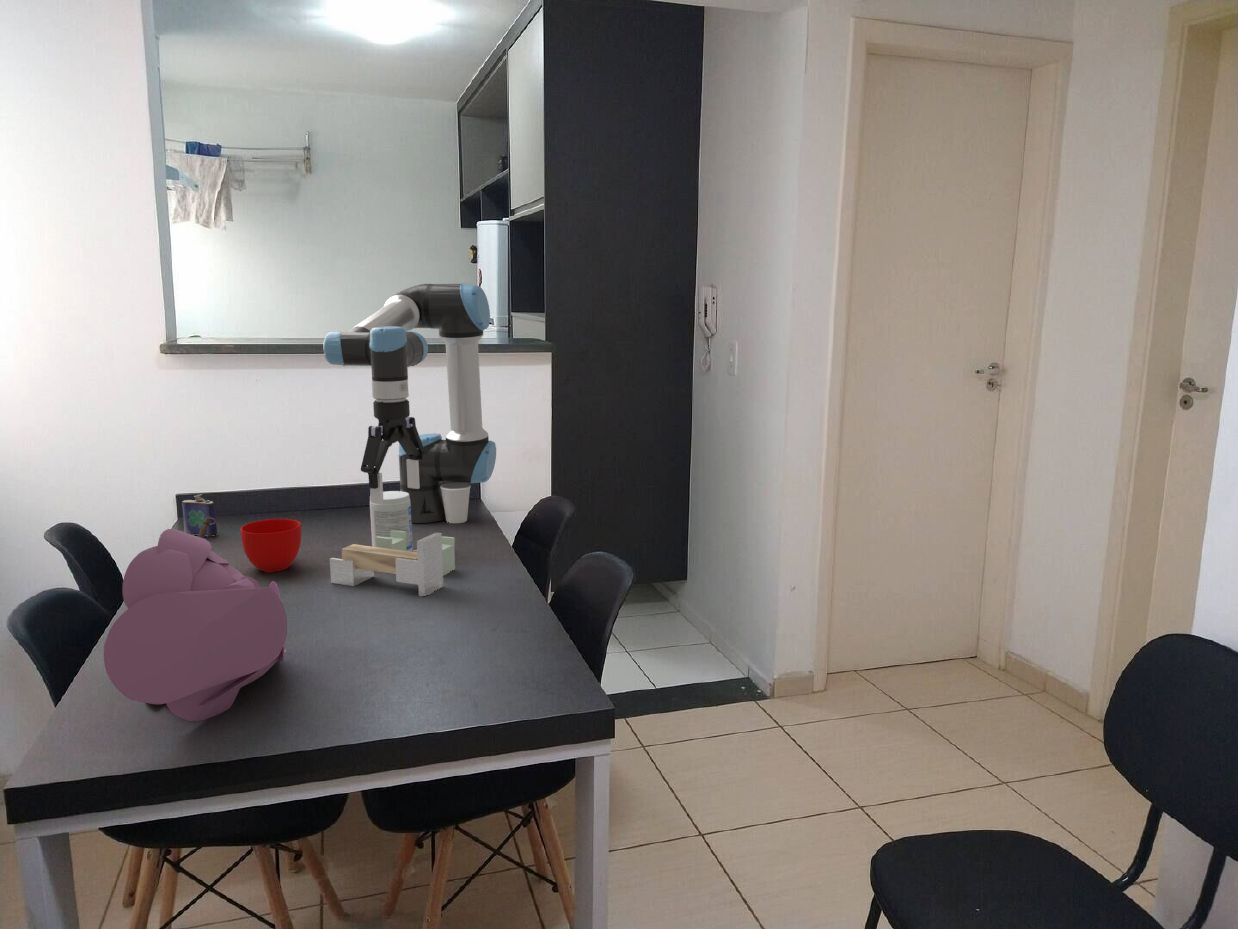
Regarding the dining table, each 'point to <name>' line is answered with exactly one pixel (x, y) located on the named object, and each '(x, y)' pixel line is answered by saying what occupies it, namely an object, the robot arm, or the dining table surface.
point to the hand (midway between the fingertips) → (396, 495)
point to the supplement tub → (392, 516)
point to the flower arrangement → (192, 629)
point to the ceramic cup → (271, 543)
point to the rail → (375, 557)
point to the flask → (198, 515)
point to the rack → (399, 543)
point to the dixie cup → (455, 501)
